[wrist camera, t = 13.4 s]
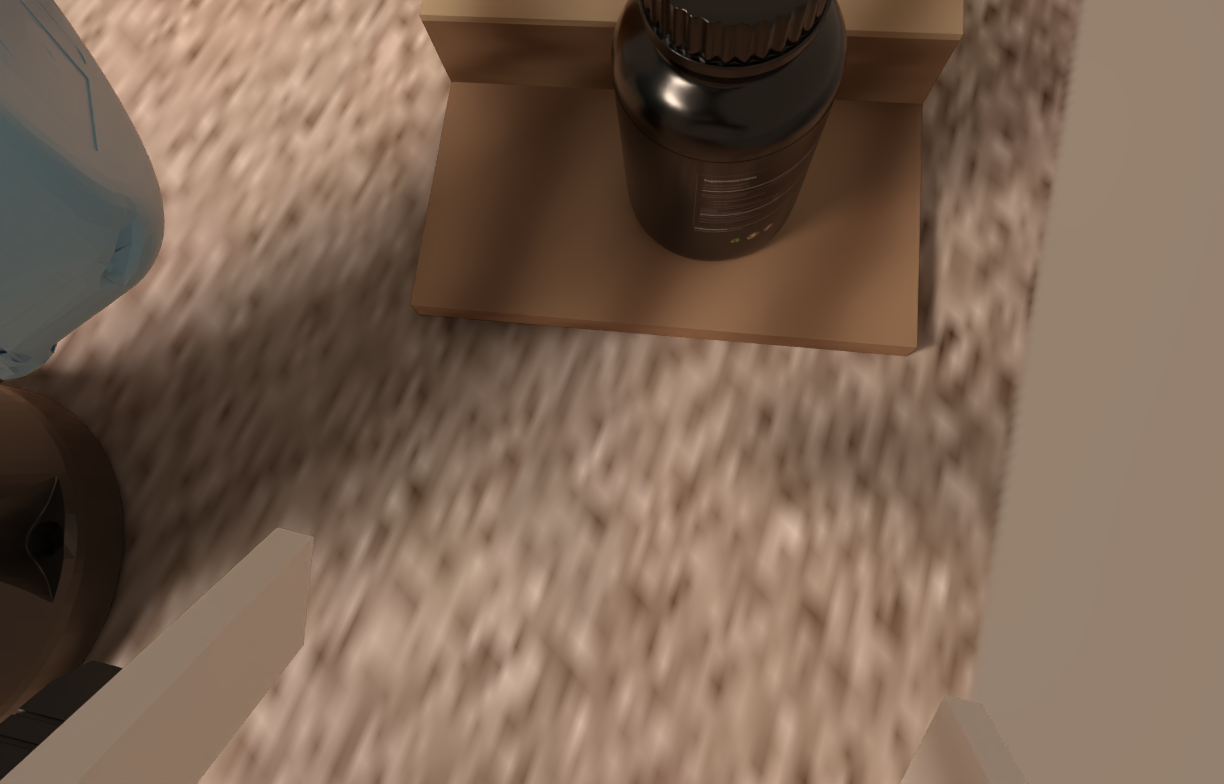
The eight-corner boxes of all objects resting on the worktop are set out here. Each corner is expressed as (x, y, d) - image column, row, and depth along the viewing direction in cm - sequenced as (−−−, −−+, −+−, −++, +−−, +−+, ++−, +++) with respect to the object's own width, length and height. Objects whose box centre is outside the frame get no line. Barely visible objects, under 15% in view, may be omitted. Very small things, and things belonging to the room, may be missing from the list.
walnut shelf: (420, 314, 29) (368, 267, 24) (465, 68, 31) (426, -21, 26) (905, 356, 27) (960, 314, 22) (913, 88, 29) (963, -5, 24)
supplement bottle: (601, 155, 28) (552, -117, 16) (750, 91, 28) (806, -225, 17) (668, 295, 27) (667, 105, 15) (826, 227, 27) (947, -16, 15)
